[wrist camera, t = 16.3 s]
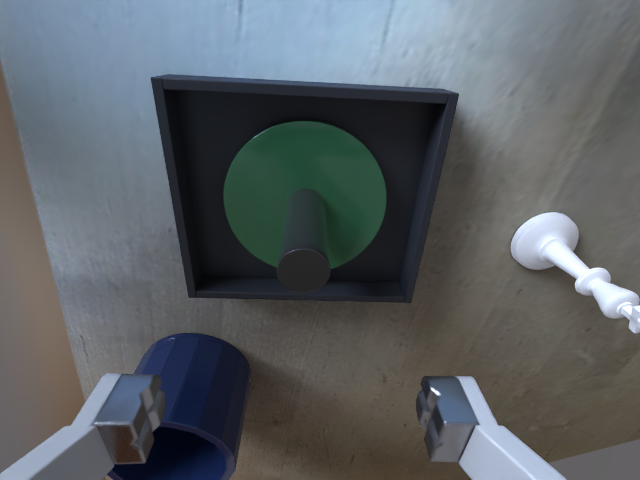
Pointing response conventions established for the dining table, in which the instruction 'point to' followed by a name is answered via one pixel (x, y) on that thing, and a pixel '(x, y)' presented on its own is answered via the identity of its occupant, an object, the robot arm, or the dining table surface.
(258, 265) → the tray
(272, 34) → the dining table surface
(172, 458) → the pot
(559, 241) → the chess piece
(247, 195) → the lid
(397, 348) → the dining table surface
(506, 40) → the dining table surface
